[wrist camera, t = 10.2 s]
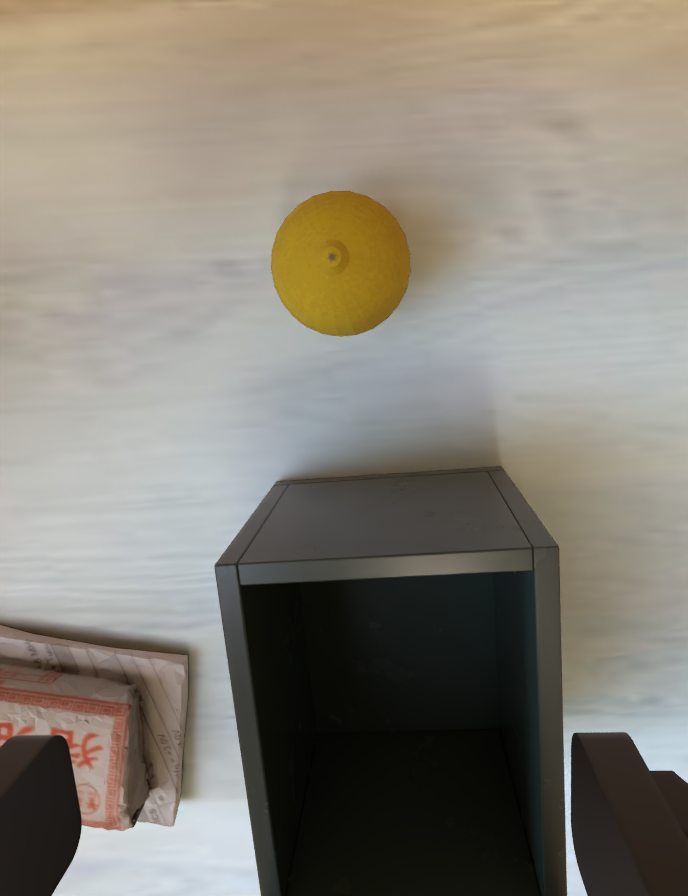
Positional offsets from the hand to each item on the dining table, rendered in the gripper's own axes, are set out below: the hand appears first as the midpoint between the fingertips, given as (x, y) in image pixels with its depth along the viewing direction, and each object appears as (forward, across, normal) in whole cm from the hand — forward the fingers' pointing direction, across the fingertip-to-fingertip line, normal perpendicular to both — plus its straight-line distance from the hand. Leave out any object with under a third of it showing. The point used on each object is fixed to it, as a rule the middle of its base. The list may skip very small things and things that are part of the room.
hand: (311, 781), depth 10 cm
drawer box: (+21, -1, +8) cm, 23 cm away
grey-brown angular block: (+22, +20, +13) cm, 32 cm away
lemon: (+22, 0, -9) cm, 23 cm away
